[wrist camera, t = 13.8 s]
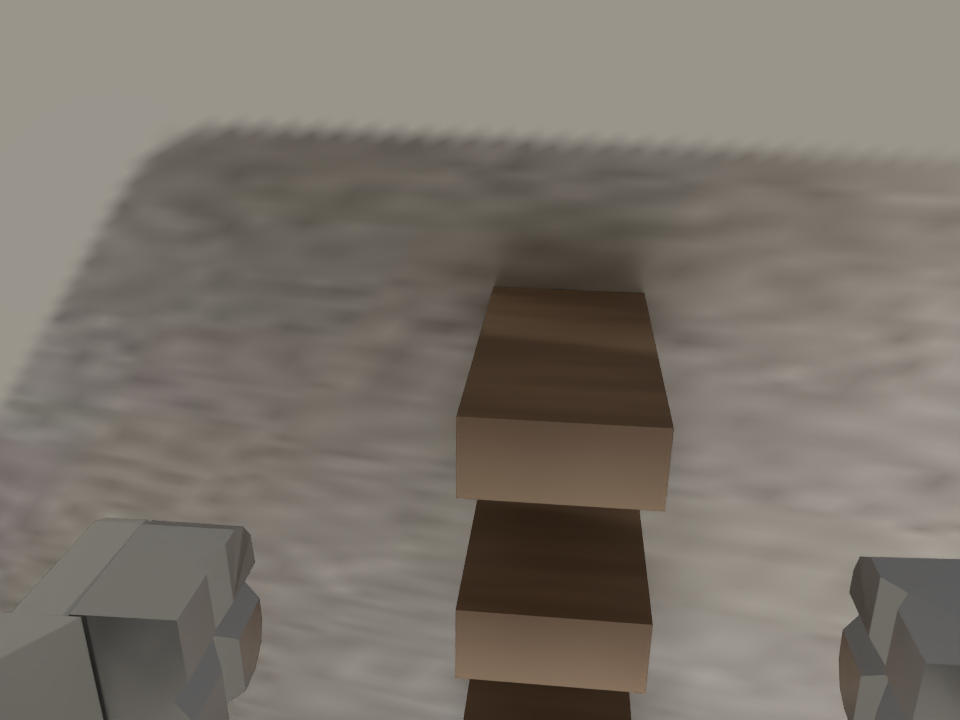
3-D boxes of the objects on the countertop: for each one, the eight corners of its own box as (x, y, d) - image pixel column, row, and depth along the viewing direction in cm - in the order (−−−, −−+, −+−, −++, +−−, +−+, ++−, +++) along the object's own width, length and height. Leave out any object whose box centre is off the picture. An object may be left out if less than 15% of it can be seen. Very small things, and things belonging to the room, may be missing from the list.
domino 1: (638, 355, 31) (664, 511, 21) (492, 347, 31) (456, 498, 22) (644, 293, 30) (673, 428, 21) (493, 286, 30) (456, 416, 21)
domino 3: (616, 618, 35) (629, 844, 26) (487, 608, 35) (455, 827, 26) (620, 571, 34) (635, 786, 25) (488, 561, 34) (455, 770, 25)
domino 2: (626, 495, 33) (645, 693, 24) (489, 486, 33) (455, 677, 24) (631, 441, 32) (652, 624, 23) (490, 433, 32) (455, 609, 23)
